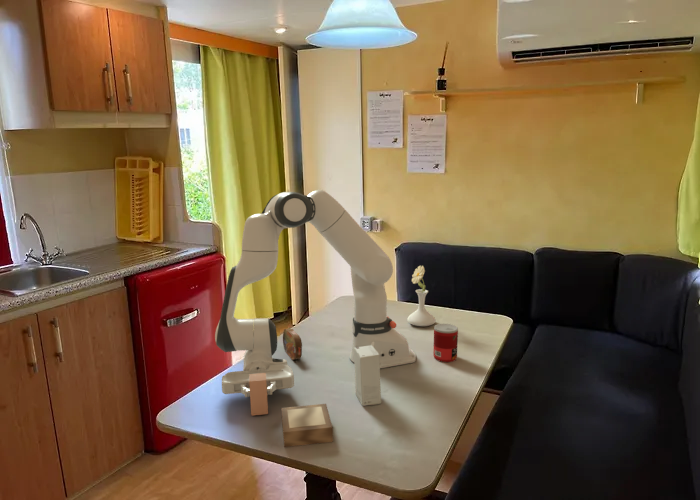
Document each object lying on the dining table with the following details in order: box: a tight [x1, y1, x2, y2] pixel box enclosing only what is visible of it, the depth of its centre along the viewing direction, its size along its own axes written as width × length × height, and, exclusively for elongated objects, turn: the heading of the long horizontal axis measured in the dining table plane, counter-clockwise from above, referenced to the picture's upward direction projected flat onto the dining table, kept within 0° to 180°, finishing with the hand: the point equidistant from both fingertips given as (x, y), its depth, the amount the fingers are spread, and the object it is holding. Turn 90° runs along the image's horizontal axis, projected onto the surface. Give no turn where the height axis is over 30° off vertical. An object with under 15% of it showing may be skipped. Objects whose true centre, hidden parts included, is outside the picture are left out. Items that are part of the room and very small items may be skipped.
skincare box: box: [353, 345, 382, 407], centre depth 151 cm, size 8×6×15 cm
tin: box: [282, 328, 303, 361], centre depth 183 cm, size 15×3×8 cm, turn 23°
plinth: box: [280, 403, 334, 448], centre depth 136 cm, size 12×12×4 cm
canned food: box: [433, 323, 459, 363], centre depth 179 cm, size 8×8×11 cm
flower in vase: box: [407, 265, 436, 327], centre depth 210 cm, size 13×11×25 cm
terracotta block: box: [249, 373, 269, 416], centre depth 144 cm, size 4×4×10 cm
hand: (258, 393), depth 143 cm, fingers closed on terracotta block, 4 cm apart
